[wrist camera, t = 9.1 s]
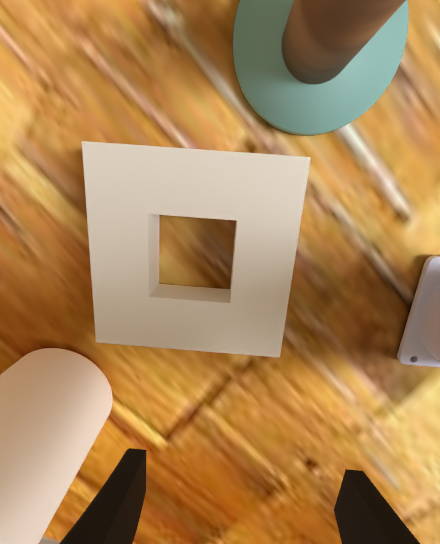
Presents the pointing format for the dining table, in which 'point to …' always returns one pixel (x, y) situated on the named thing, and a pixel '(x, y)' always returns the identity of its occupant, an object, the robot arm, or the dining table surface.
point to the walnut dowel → (330, 35)
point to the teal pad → (300, 96)
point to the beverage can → (45, 435)
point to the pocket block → (202, 204)
